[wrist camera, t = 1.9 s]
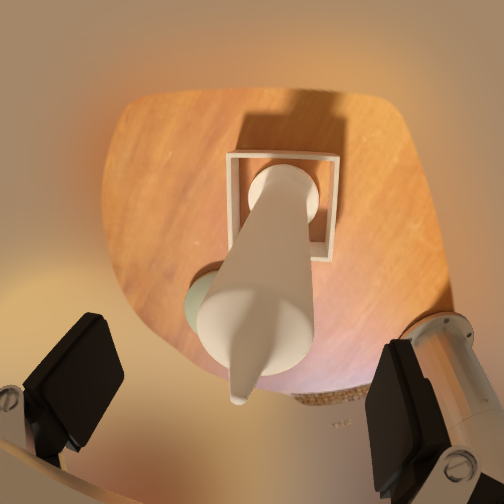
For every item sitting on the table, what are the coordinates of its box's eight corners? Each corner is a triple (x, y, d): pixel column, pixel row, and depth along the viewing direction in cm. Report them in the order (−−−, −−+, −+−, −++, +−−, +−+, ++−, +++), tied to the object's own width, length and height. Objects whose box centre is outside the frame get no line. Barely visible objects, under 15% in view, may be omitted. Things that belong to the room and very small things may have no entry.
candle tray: (334, 152, 28) (339, 157, 25) (328, 246, 32) (331, 261, 29) (235, 149, 30) (226, 153, 26) (236, 241, 34) (228, 256, 30)
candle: (259, 155, 30) (128, 263, 7) (327, 176, 29) (407, 346, 7) (241, 220, 33) (129, 420, 10) (306, 239, 32) (304, 470, 10)
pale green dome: (292, 297, 35) (292, 302, 34) (250, 356, 40) (248, 362, 39) (207, 252, 35) (204, 256, 34) (175, 319, 39) (172, 324, 38)
